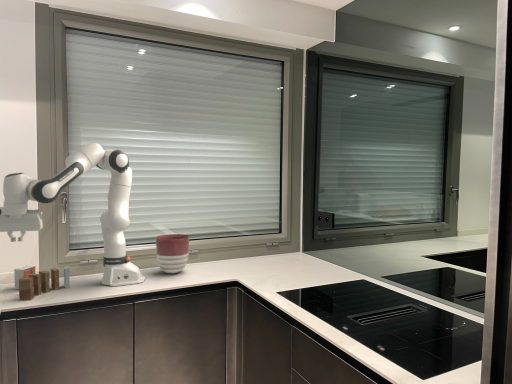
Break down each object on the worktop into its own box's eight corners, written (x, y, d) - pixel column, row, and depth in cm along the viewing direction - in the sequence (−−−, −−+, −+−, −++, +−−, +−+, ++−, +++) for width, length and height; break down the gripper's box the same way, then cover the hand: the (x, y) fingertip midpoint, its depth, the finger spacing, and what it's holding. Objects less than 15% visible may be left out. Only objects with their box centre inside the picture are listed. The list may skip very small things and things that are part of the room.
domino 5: (65, 288, 191) (64, 268, 190) (64, 285, 195) (63, 266, 195) (69, 287, 192) (69, 268, 191) (68, 285, 196) (68, 266, 196)
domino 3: (45, 292, 183) (45, 272, 183) (39, 291, 186) (38, 271, 185) (49, 291, 185) (49, 271, 185) (43, 290, 187) (42, 270, 187)
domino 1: (30, 300, 173) (30, 278, 172) (19, 300, 172) (18, 279, 172) (33, 297, 176) (33, 277, 175) (22, 298, 175) (22, 277, 175)
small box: (23, 290, 187) (23, 269, 186) (14, 289, 188) (13, 269, 188) (36, 285, 195) (35, 265, 194) (27, 285, 196) (26, 265, 195)
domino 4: (55, 290, 187) (54, 270, 187) (51, 288, 191) (50, 268, 190) (59, 289, 189) (58, 269, 189) (55, 287, 192) (55, 268, 192)
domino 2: (38, 295, 179) (37, 275, 178) (29, 295, 180) (28, 274, 179) (41, 294, 181) (40, 274, 180) (32, 293, 182) (31, 273, 181)
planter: (186, 267, 234) (186, 233, 233) (192, 275, 216) (192, 238, 215) (154, 269, 227) (154, 235, 226) (157, 278, 209) (157, 240, 208)
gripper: (44, 208, 168) (45, 239, 168) (-8, 209, 163) (-7, 241, 163) (40, 210, 162) (41, 241, 162) (-14, 211, 156) (-13, 243, 157)
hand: (16, 241), depth 163 cm, fingers closed
